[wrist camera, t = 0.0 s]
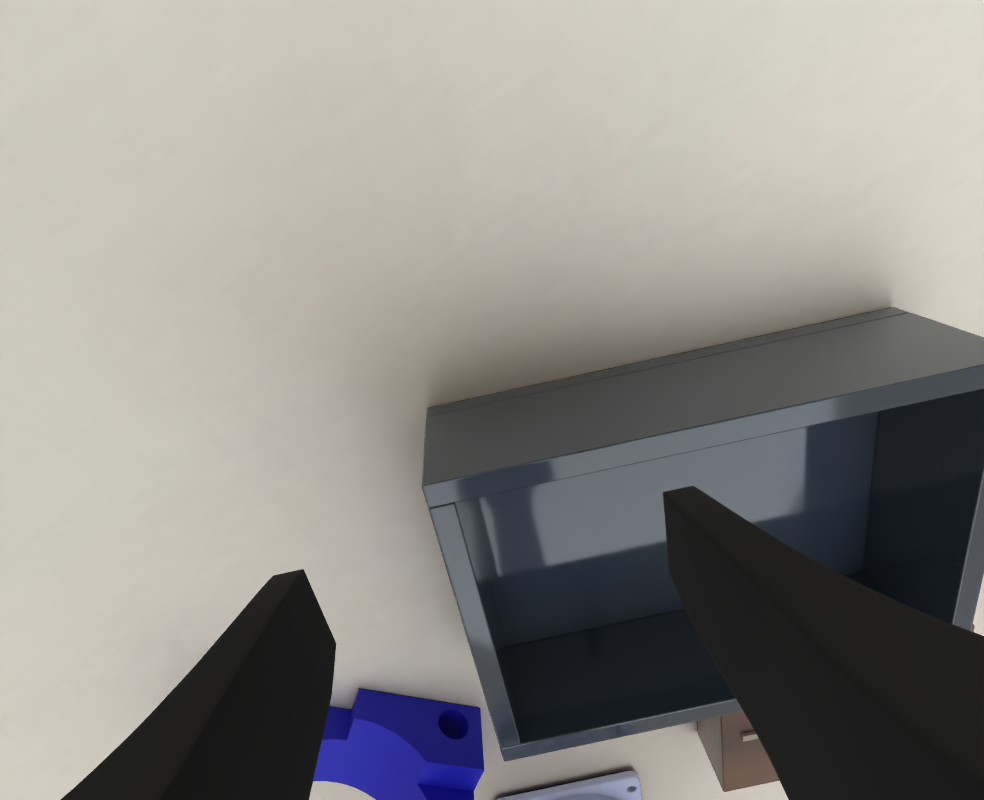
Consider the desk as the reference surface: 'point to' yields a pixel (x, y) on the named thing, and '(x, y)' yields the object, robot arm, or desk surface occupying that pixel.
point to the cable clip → (403, 748)
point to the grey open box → (720, 474)
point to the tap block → (736, 751)
